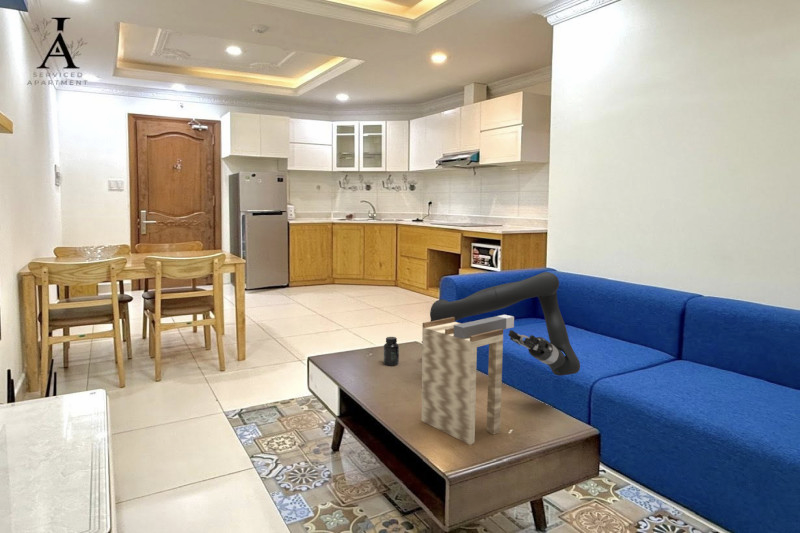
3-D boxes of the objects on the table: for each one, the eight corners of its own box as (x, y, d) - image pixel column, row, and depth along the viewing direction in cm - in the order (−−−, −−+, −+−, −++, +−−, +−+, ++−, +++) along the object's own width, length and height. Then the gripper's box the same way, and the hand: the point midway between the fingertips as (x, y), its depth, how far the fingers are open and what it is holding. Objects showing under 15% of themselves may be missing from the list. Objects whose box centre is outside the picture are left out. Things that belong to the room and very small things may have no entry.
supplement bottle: (381, 362, 237) (381, 336, 235) (395, 361, 239) (396, 335, 238) (386, 367, 230) (386, 340, 229) (400, 365, 233) (401, 339, 231)
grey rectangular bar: (453, 336, 160) (453, 325, 159) (504, 324, 175) (504, 314, 174) (463, 339, 156) (463, 327, 156) (513, 327, 172) (514, 316, 171)
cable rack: (421, 420, 174) (422, 322, 170) (451, 410, 183) (452, 317, 179) (469, 444, 158) (472, 336, 153) (500, 431, 166) (503, 329, 162)
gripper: (530, 337, 194) (507, 321, 184) (564, 345, 183) (541, 329, 173) (523, 356, 192) (499, 340, 182) (557, 365, 181) (533, 350, 171)
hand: (520, 335), depth 177 cm, fingers open, 8 cm apart
